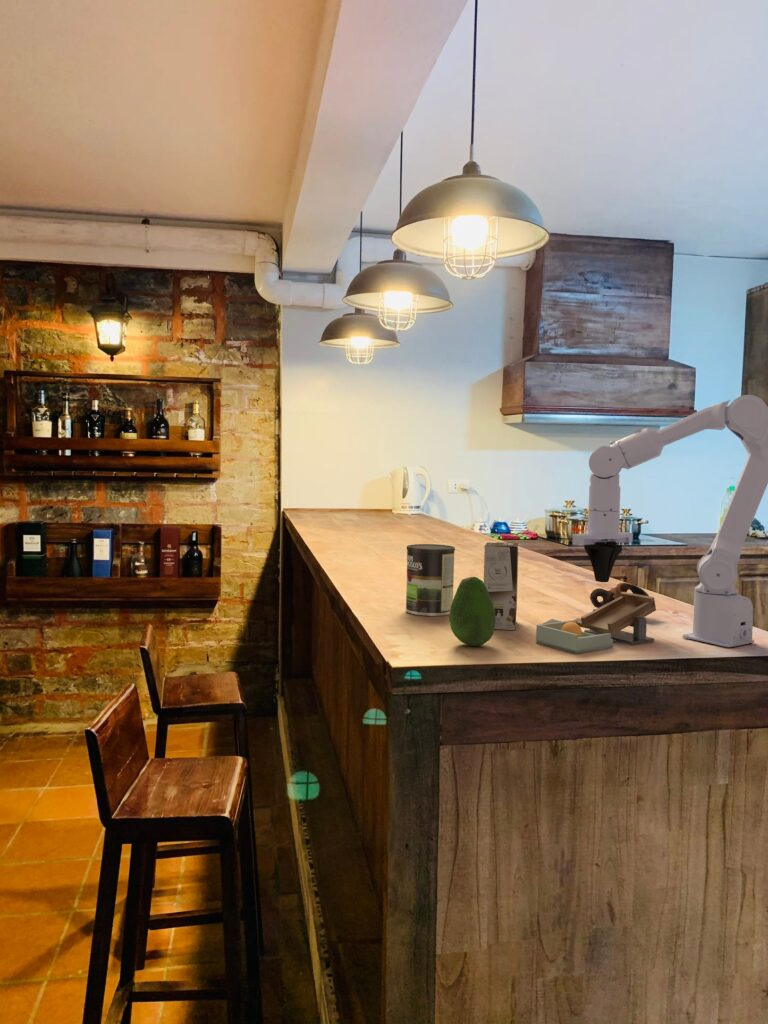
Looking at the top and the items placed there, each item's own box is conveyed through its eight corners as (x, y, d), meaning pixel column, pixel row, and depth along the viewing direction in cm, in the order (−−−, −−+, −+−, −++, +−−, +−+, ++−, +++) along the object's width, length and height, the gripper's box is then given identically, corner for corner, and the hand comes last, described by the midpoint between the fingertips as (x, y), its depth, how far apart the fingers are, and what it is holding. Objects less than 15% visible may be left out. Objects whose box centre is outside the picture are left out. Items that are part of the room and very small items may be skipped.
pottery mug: (631, 614, 164) (648, 584, 160) (641, 642, 155) (659, 611, 151) (579, 600, 163) (595, 570, 159) (587, 627, 154) (603, 596, 150)
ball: (569, 632, 128) (576, 648, 129) (581, 619, 130) (588, 635, 131) (554, 628, 131) (561, 644, 132) (566, 616, 133) (573, 632, 134)
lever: (658, 615, 138) (655, 597, 137) (600, 648, 130) (597, 629, 129) (598, 603, 149) (596, 586, 149) (542, 632, 141) (539, 615, 141)
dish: (612, 647, 129) (613, 629, 129) (575, 654, 124) (575, 634, 124) (573, 637, 137) (573, 620, 137) (536, 642, 132) (536, 624, 132)
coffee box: (515, 631, 142) (517, 546, 141) (481, 629, 143) (483, 545, 143) (517, 621, 151) (518, 541, 150) (484, 619, 152) (486, 540, 151)
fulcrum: (654, 641, 135) (654, 617, 134) (631, 645, 131) (632, 620, 131) (606, 630, 144) (606, 607, 144) (584, 633, 141) (584, 610, 140)
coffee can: (419, 618, 153) (420, 549, 153) (397, 609, 163) (398, 544, 162) (462, 614, 158) (464, 548, 157) (438, 606, 167) (440, 543, 166)
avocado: (465, 638, 135) (466, 572, 134) (503, 645, 130) (504, 576, 129) (439, 646, 129) (440, 576, 128) (478, 653, 124) (480, 581, 123)
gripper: (613, 508, 150) (611, 576, 151) (561, 510, 142) (559, 581, 143) (642, 510, 144) (640, 581, 145) (589, 512, 136) (587, 586, 137)
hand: (601, 581), depth 143 cm, fingers closed
